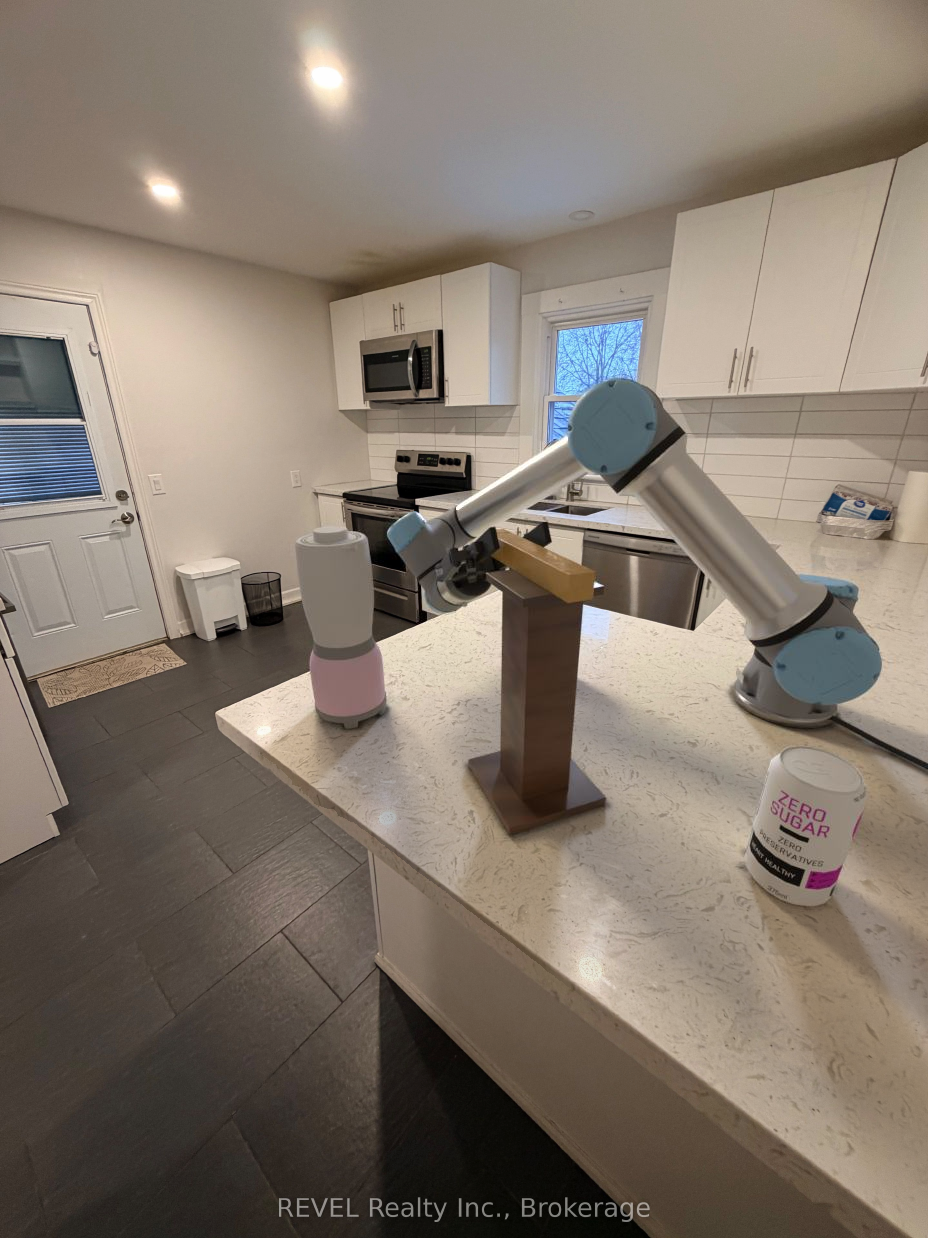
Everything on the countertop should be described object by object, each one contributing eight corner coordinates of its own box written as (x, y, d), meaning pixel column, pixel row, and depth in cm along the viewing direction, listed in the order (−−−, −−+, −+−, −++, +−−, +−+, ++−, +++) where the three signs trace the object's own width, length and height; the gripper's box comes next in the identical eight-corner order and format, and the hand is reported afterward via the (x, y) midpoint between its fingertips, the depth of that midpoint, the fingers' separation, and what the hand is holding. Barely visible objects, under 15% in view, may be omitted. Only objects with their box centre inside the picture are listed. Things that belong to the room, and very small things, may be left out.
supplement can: (816, 856, 57) (854, 750, 51) (841, 921, 50) (887, 805, 44) (738, 839, 59) (765, 735, 54) (750, 898, 52) (783, 786, 46)
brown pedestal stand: (468, 765, 73) (464, 570, 61) (551, 743, 77) (563, 557, 66) (509, 835, 61) (514, 607, 49) (605, 804, 65) (631, 589, 53)
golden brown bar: (483, 551, 69) (483, 530, 68) (503, 549, 70) (503, 528, 69) (568, 603, 50) (569, 574, 49) (593, 599, 51) (595, 571, 50)
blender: (401, 709, 87) (387, 528, 75) (341, 739, 79) (314, 543, 67) (352, 678, 97) (333, 515, 85) (294, 702, 90) (264, 526, 77)
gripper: (522, 592, 85) (595, 555, 63) (413, 608, 79) (452, 573, 57) (513, 550, 86) (582, 499, 64) (404, 563, 80) (440, 511, 58)
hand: (521, 534), depth 61 cm, fingers open, 6 cm apart
